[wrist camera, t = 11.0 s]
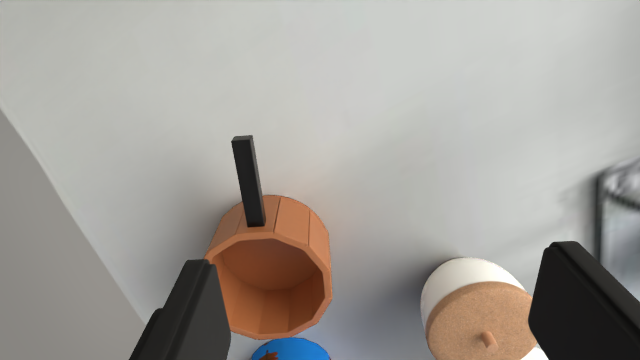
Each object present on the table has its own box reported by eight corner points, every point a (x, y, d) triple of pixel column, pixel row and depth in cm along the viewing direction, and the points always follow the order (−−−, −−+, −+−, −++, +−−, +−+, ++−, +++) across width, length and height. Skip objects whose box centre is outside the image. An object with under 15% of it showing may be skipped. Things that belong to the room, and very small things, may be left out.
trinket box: (415, 324, 46) (438, 397, 37) (403, 249, 41) (426, 313, 33) (508, 308, 45) (552, 379, 36) (505, 230, 41) (556, 291, 32)
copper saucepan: (188, 124, 36) (159, 150, 29) (317, 113, 35) (317, 137, 29) (227, 294, 44) (211, 343, 37) (333, 286, 43) (335, 334, 37)
